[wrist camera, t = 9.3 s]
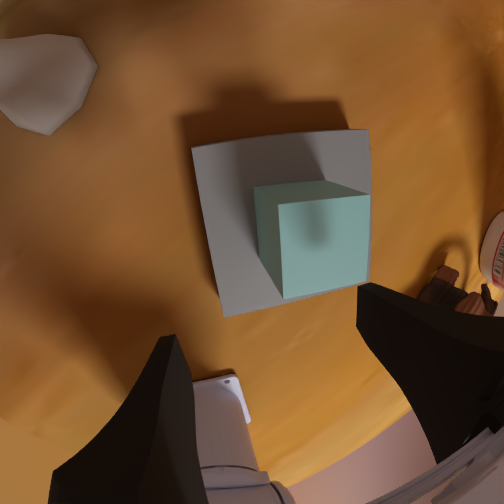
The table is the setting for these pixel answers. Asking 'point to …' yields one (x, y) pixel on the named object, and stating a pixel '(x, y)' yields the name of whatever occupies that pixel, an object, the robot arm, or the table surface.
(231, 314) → the gray base
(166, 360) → the robot arm
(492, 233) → the fruit juice
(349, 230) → the teal block
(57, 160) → the table surface
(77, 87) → the flask
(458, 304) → the brown broken pot
